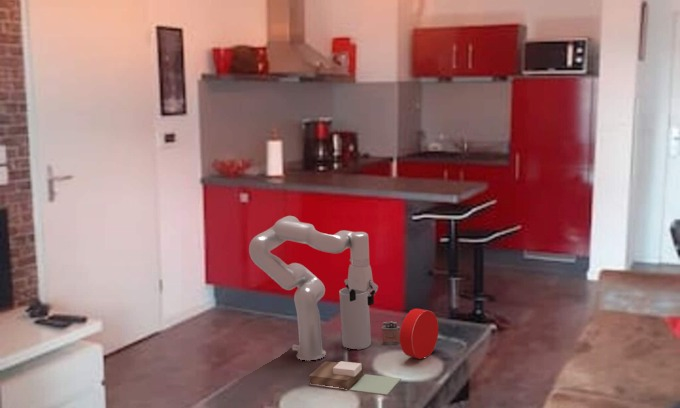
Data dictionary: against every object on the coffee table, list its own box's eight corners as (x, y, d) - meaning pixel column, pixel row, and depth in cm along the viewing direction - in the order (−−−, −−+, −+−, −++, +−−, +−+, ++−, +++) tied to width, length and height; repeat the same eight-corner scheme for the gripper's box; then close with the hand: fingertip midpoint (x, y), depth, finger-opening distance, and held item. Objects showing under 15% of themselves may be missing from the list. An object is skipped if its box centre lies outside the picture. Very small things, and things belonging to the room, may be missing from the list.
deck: (309, 385, 285) (309, 375, 284) (326, 370, 298) (325, 361, 297) (347, 390, 278) (346, 380, 277) (362, 374, 291) (362, 365, 291)
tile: (333, 373, 284) (332, 367, 284) (340, 367, 290) (340, 361, 290) (354, 376, 280) (354, 370, 280) (361, 369, 286) (361, 363, 286)
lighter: (400, 341, 325) (399, 320, 323) (400, 344, 321) (399, 322, 320) (382, 342, 326) (381, 320, 324) (382, 345, 322) (381, 323, 321)
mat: (350, 390, 277) (349, 389, 277) (365, 375, 291) (365, 374, 291) (387, 395, 271) (387, 394, 271) (400, 379, 285) (400, 378, 285)
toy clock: (427, 347, 316) (425, 302, 313) (439, 350, 312) (437, 304, 309) (401, 363, 301) (398, 316, 298) (413, 365, 297) (410, 318, 294)
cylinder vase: (371, 339, 329) (368, 286, 325) (370, 350, 317) (367, 294, 313) (344, 340, 331) (340, 287, 327) (341, 350, 318) (337, 295, 314)
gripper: (338, 261, 303) (340, 301, 306) (370, 267, 291) (372, 308, 294) (350, 257, 308) (351, 296, 311) (382, 263, 297) (383, 304, 300)
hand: (361, 302), depth 303 cm, fingers open, 9 cm apart
